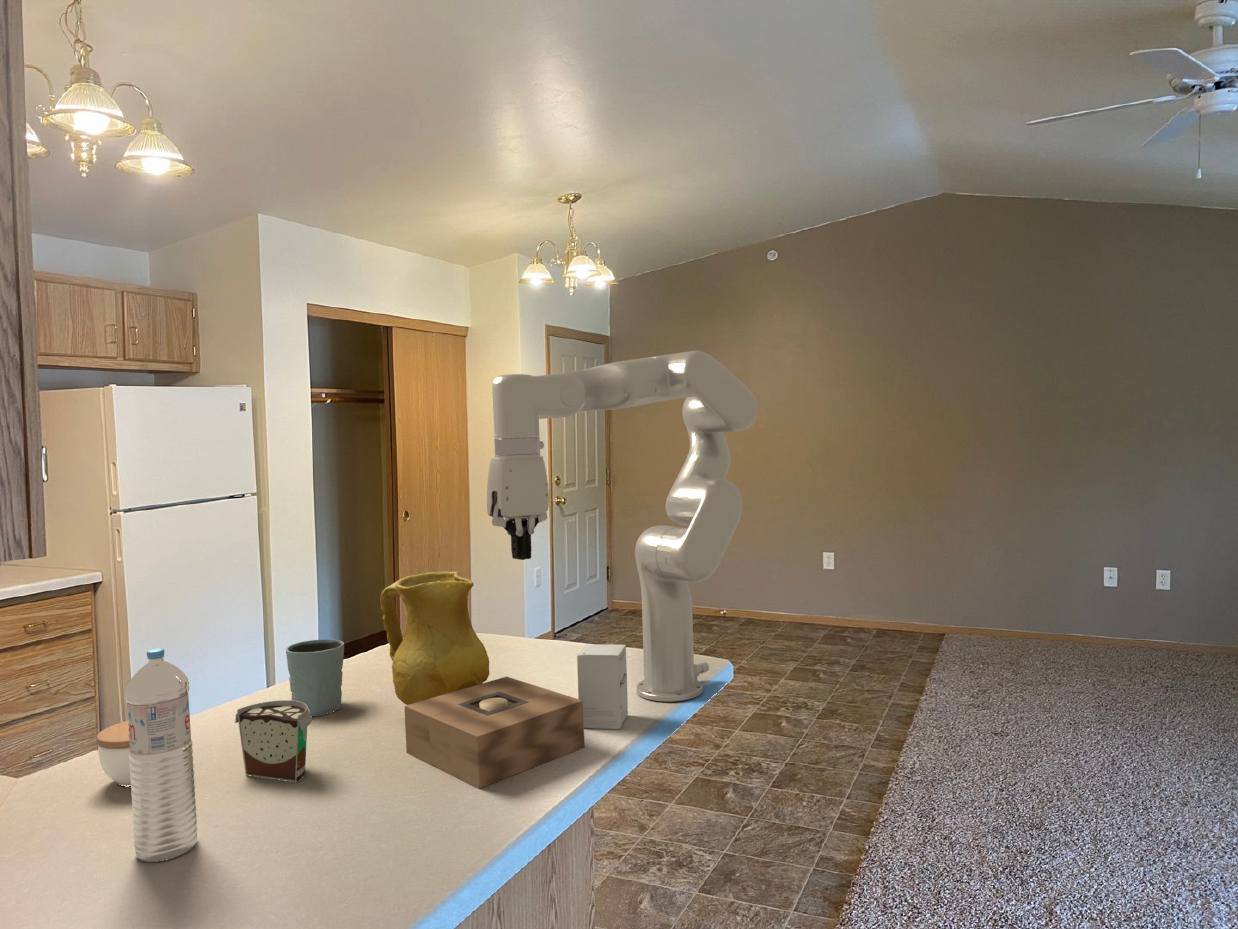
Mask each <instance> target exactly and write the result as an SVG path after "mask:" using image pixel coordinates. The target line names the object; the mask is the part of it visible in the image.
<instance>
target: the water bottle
mask: <svg viewBox="0 0 1238 929" xmlns="http://www.w3.org/2000/svg"><path fill="white" fill-rule="evenodd" d="M146 657H147V658H146V659H147V660H148V663H146V664H144V666H142V667H141V668H139V670H138V671H137V672H136V673H135V674H134V675H133V676H132V678H130V681H129V682H128V684H127V685H126V688H125V690H124V691H125V692H124V694H125V702H126V703H127V704H126V705H127V721H128V725H129V743H130V752H129V759H130V762H129V763H130V774H131V776H130V780H131V787H130V789H131V790H130V791H131V792H130V793H131V794H130V795H131V809H132V825H133V826H132V828H133V830H132V831H133V840H134V841H133V843H134V846H133V847H134V852H135V855H136V857H137V859H139V860H140V861H142V862H145V861H146V862H145V863H157V862H156V861H160V862H163V861H162V860H166V859H170V860H172V858H173V859H175V858H174V857H176V858H178V857H180V855H181V856H182V854H183V855H184V854H186V853H187V852H189V851H190V850H191V848H192V847H193V848H194V846H196V844H197V840H198V826H197V825H198V821H197V804H196V802H197V801H196V791H195V790H196V786H195V769H194V768H195V765H194V755H193V754H194V750H193V745H194V744H193V740H192V733H191V731H192V730H191V729H192V728H191V716H190V700H189V698H190V697H189V691H190V680H189V678H188V676H187V675H186V674H185V672H183V670H181V669H180V668H179V667H177V666H176V665H175V664H173V663H171V662H169V661H165V660H164V658H165V649H164V648H158V647H157V648H153V649H149V650H147V651H146ZM193 848H192V849H193ZM185 852H186V853H185ZM177 856H178V857H177ZM166 861H167V860H166Z"/></svg>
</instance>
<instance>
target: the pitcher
mask: <svg viewBox="0 0 1238 929" xmlns="http://www.w3.org/2000/svg"><path fill="white" fill-rule="evenodd" d="M473 587H474V582H473V581H472V580H471V579H468V578H465V577H462V576H460V572H459V571H430V572H425V573H418V574H413V575H408V576H405V577H402V578H399V580H397V581H395V582H393V583H392V584H391V585H389V586H386V587H385V588H384V589H382V591H381V592H380V593H381V594H380V598H379V603H380V611H381V612H382V613H383V615H382V621H383V629H384V631H385V632H386V641H387V643H388V645H389V657H390V659H391V661H392V662H391V663H392V664H391V669H392V670H391V671H392V672H391V673H392V682H393V686H394V691H395V692H394V693H395V696H396V697H397V698H398V700H399V701H401V702H402V703H403V704H404V705H405V706H406V705H410V704H413V703H417V702H420V701H424V700H427V699H430V698H434V697H437V696H441V695H444V694H448V693H451V692H455V691H458V690H462V689H465V688H469V687H472V686H475V685H479V684H482V683H485V682H487V680H488V678H489V676H490V658H489V656H488V653H487V652H488V651H487V650H486V647H485V646H484V643H483V642H482V641H481V640H480V638H479V637H478V635H477V633H476V632H475V630H474V628H473V625H472V622H471V618H470V612H469V608H468V597H469V592H470V590H471V589H472V588H473ZM396 596H398V597H400V598H401V600H402V601H403V603H404V606H405V609H406V613H407V614H406V615H407V616H406V628H405V632H404V636H403V634H402V630H401V627H400V623H399V618H398V614H397V609H396Z"/></svg>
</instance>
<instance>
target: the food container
mask: <svg viewBox="0 0 1238 929" xmlns="http://www.w3.org/2000/svg"><path fill="white" fill-rule="evenodd" d="M312 722H313V717H311V713H310V710H309V708H308V707H307V705H306V704H305V703H303V702H299V701H292V700H291V699H290V700H289V699H286V700H284V699H283V700H282V699H281V700H272V701H271V700H270V701H265V702H264V701H263V702H258V703H253V704H250V705H247V706H243V707H241V708H238V709H237V710H236V714H235V719H234V723H235V724H238V728H239V736H240V743H241V750H242V751H241V752H242V758H243V765H244V774H245V776H246V775H251V776H256V777H255V778H259V777H263V778H262V779H266V778H268V779H267V780H274V779H280V780H279V781H281V780H287V781H286V782H289V781H291V783H298V782H299V781H301V780H302V779H303V778H304V777H305V775H306V761H307V758H306V757H307V740H308V739H307V737H308V726H310V725H311V724H312ZM251 776H250V777H251ZM302 777H303V778H302ZM300 779H301V780H300ZM297 781H298V782H297Z"/></svg>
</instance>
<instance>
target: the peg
mask: <svg viewBox="0 0 1238 929" xmlns="http://www.w3.org/2000/svg"><path fill="white" fill-rule="evenodd" d="M479 706H480V708H481V709H484V710H486V711H493V710H496V709H499V708H502V707H505V706H508V702H507V700H506V699H504V698H489V699H485V700H482V701H481V702H480V703H479Z"/></svg>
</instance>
